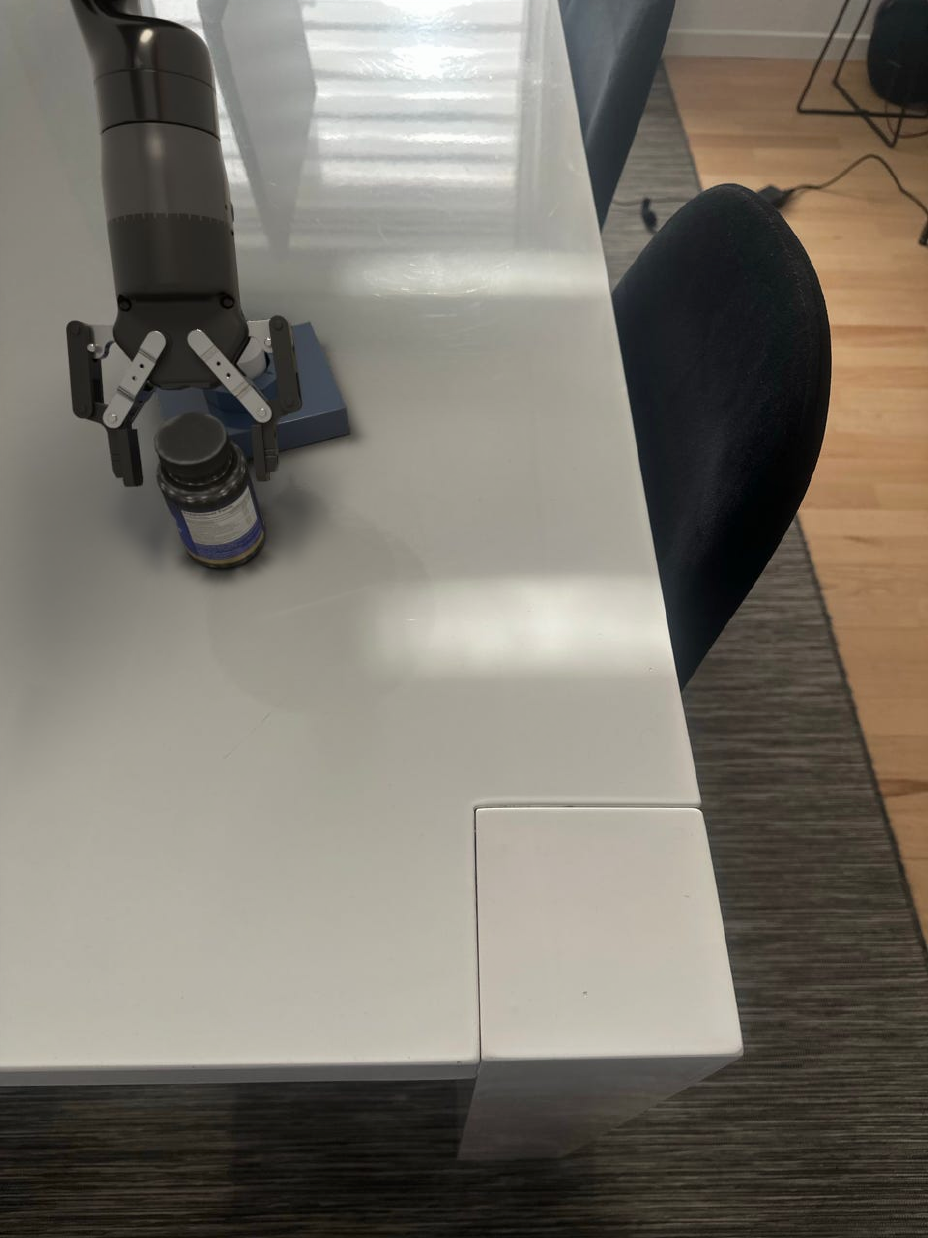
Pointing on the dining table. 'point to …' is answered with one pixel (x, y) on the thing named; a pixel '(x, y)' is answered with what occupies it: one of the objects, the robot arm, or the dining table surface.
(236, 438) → the blue push button box
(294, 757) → the dining table surface
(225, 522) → the pill bottle
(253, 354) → the white push button
